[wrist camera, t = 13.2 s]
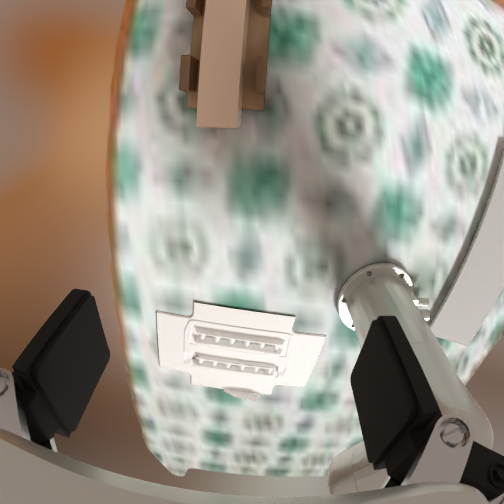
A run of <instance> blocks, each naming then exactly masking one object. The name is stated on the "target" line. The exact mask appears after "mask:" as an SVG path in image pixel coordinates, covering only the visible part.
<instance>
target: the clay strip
mask: <svg viewBox="0 0 504 504" xmlns="http://www.w3.org/2000/svg"><path fill="white" fill-rule="evenodd" d="M250 2H251V0H206V5H205V14H204V24H203V34H202V45H201V57H200V70H199V85H198V102H197V122H196V127H215V128H238V127H239V126H241V117H242V102H243V88H244V75H245V62H246V49H247V37H248V25H249V13H250Z"/></svg>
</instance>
